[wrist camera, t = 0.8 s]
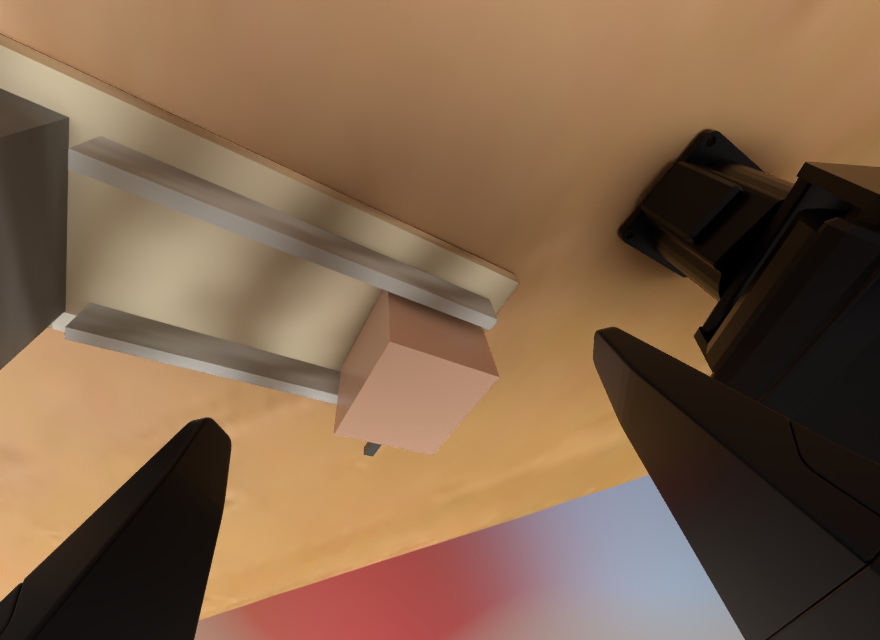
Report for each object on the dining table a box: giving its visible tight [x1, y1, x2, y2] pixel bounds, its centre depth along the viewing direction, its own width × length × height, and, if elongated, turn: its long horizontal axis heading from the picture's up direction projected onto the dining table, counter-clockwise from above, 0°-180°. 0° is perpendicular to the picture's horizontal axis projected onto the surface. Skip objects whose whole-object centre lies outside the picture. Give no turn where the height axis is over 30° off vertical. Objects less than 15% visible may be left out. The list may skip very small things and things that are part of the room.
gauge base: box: [0, 34, 519, 404], centre depth 18 cm, size 24×13×7 cm, turn 61°
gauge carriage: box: [334, 290, 499, 456], centre depth 22 cm, size 6×10×5 cm, turn 151°
